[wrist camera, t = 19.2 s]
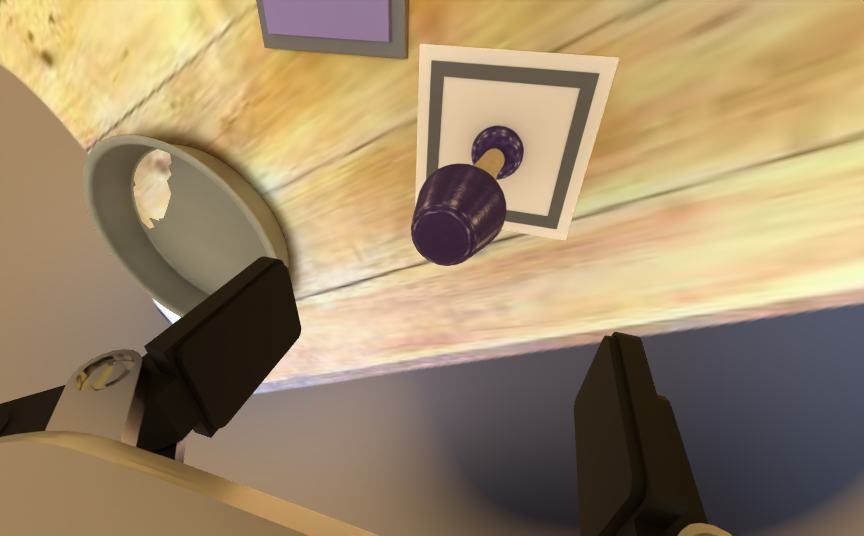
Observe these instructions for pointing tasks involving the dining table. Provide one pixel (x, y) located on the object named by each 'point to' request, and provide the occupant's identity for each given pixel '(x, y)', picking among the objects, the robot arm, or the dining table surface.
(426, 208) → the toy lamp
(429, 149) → the marked card
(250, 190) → the cake pan
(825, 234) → the dining table surface
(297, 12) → the ink pad
